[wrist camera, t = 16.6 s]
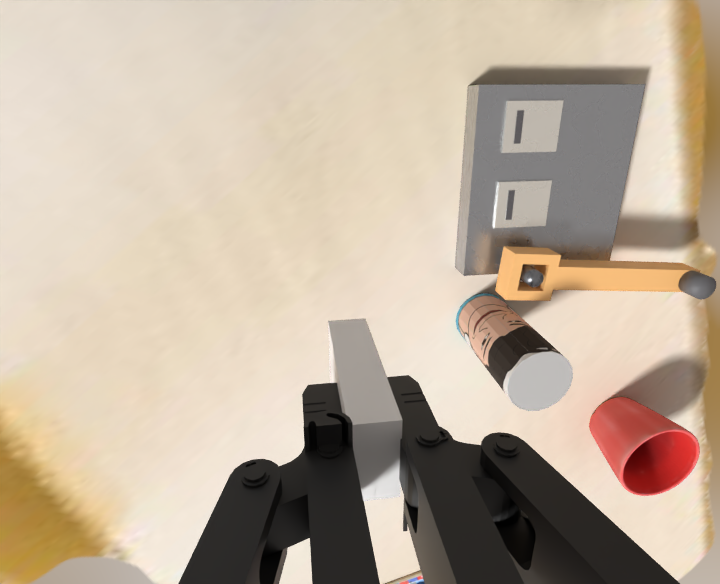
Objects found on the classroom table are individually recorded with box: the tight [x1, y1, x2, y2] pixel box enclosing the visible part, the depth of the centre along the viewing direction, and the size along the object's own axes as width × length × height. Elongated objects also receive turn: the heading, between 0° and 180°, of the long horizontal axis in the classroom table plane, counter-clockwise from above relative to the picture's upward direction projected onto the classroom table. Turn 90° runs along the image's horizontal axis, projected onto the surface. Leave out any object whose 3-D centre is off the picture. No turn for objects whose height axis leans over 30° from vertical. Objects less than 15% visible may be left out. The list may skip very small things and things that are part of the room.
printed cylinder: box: [456, 293, 573, 411], centre depth 52 cm, size 7×7×15 cm
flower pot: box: [589, 397, 700, 496], centre depth 64 cm, size 11×11×10 cm
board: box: [455, 84, 645, 287], centre depth 50 cm, size 20×18×8 cm
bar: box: [495, 246, 716, 301], centre depth 51 cm, size 23×5×5 cm, turn 86°
